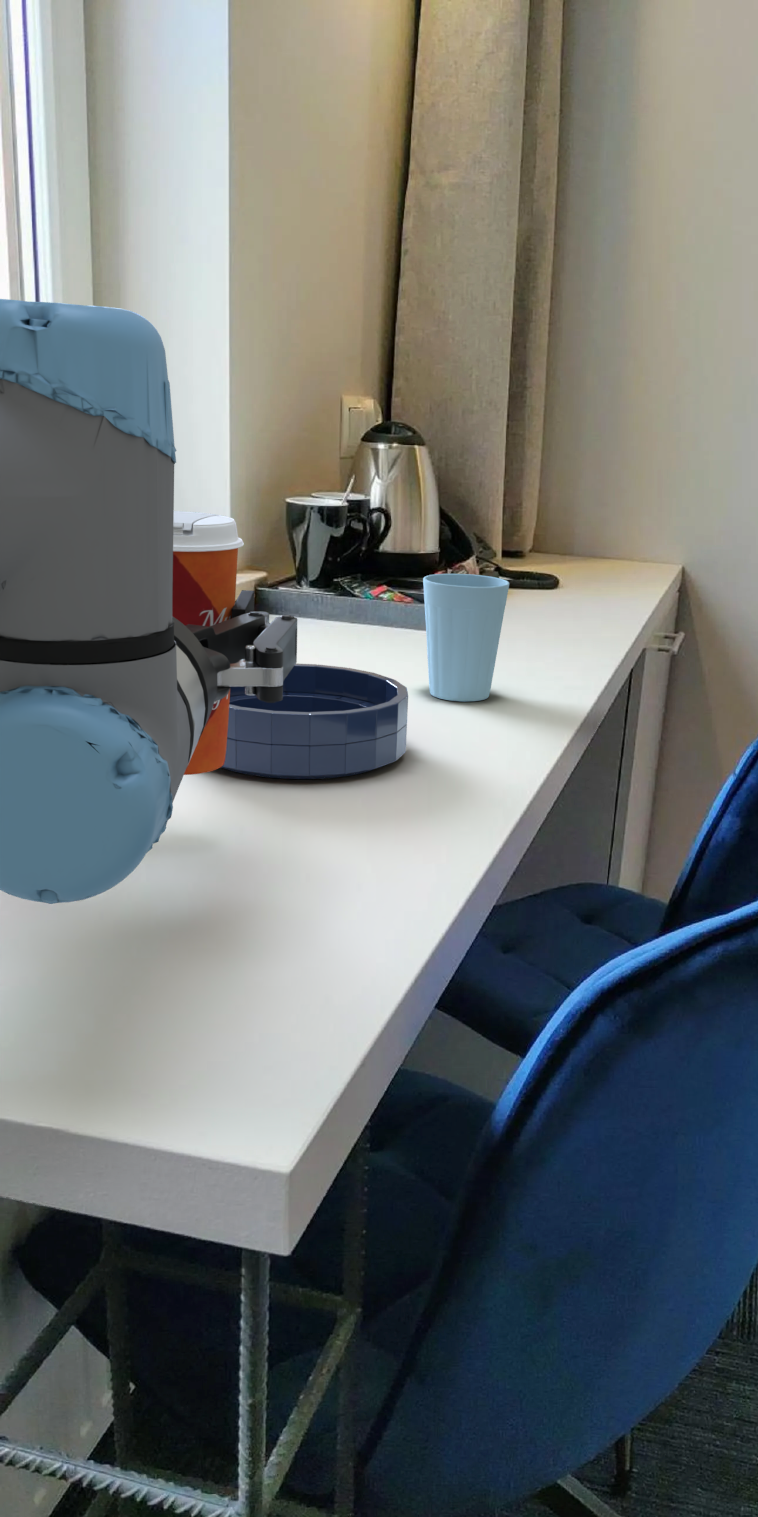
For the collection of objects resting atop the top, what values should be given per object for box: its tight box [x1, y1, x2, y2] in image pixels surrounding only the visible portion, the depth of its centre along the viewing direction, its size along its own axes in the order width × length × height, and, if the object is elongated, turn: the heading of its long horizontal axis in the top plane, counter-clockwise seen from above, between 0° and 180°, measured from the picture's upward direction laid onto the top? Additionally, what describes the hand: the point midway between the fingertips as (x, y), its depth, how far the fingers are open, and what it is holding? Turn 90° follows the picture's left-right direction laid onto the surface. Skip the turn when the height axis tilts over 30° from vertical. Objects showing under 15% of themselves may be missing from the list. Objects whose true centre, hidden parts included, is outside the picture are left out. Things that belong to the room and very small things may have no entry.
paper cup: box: [172, 510, 245, 776], centre depth 74 cm, size 8×8×14 cm
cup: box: [422, 573, 510, 702], centre depth 117 cm, size 8×8×10 cm
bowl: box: [220, 663, 409, 780], centre depth 97 cm, size 17×17×5 cm
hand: (186, 610), depth 78 cm, fingers closed on paper cup, 7 cm apart
